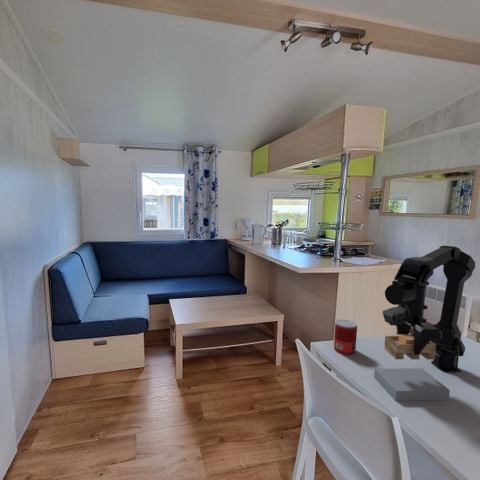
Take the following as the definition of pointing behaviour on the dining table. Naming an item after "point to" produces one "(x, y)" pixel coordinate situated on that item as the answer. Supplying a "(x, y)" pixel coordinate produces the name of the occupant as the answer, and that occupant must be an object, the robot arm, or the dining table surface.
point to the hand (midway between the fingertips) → (409, 349)
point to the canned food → (345, 336)
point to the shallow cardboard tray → (407, 349)
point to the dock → (411, 384)
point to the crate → (406, 339)
